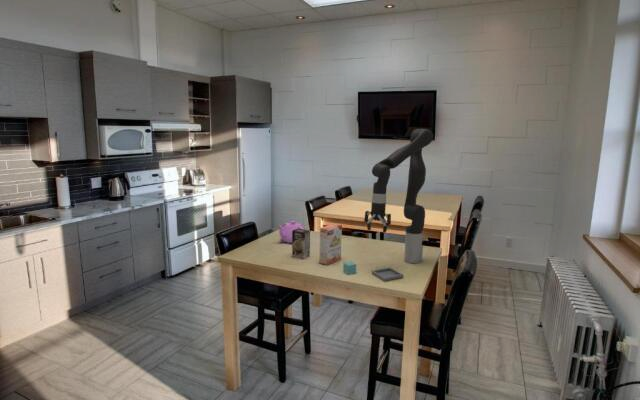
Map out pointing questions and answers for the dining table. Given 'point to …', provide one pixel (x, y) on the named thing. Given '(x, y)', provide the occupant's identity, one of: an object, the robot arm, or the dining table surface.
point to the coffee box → (301, 243)
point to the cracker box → (330, 243)
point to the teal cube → (349, 267)
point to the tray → (387, 274)
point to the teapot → (288, 230)
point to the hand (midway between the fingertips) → (376, 231)
